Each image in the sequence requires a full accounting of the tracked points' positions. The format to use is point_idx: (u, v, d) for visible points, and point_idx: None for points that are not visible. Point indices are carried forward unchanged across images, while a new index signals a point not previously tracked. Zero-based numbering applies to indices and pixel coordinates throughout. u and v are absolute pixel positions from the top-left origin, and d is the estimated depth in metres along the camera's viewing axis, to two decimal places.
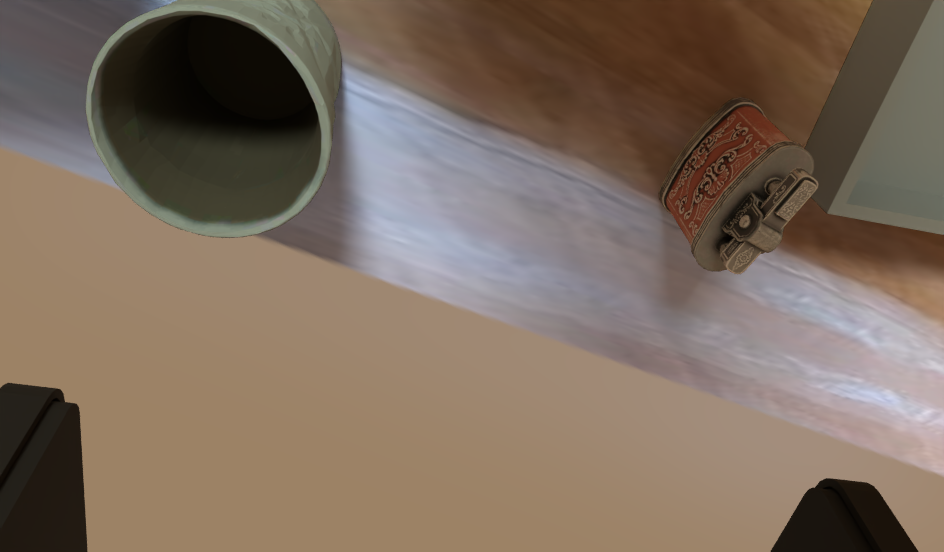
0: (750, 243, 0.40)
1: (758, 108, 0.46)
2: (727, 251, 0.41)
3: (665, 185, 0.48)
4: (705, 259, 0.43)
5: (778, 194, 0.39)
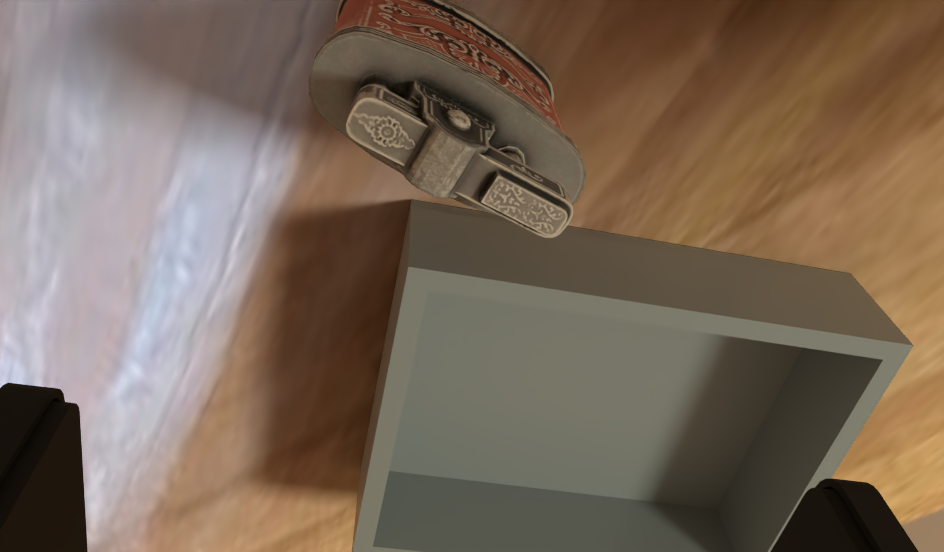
0: (425, 138, 0.19)
1: None
2: (389, 96, 0.19)
3: None
4: (337, 59, 0.20)
5: (525, 171, 0.20)
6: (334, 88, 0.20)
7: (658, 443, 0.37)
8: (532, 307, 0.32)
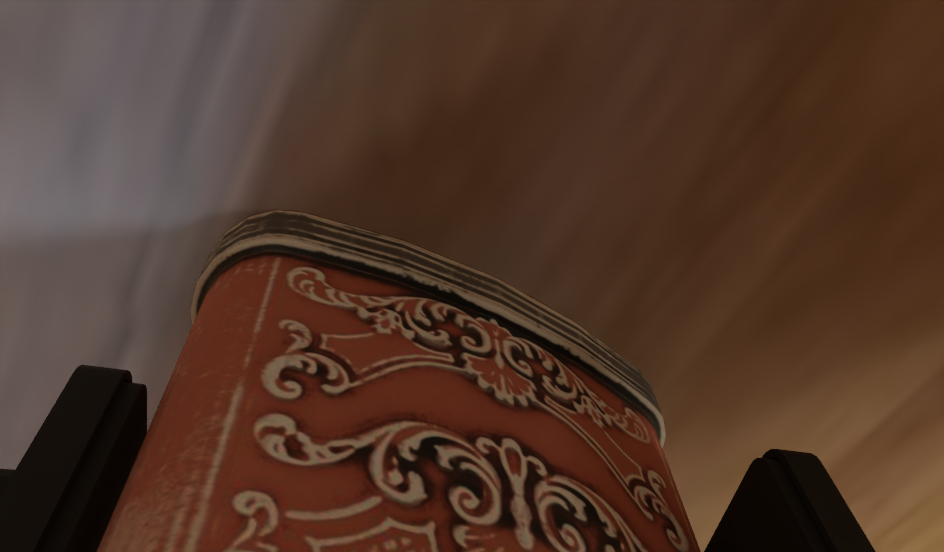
0: None
1: None
2: None
3: (324, 235, 0.11)
4: None
5: None
6: None
7: None
8: None
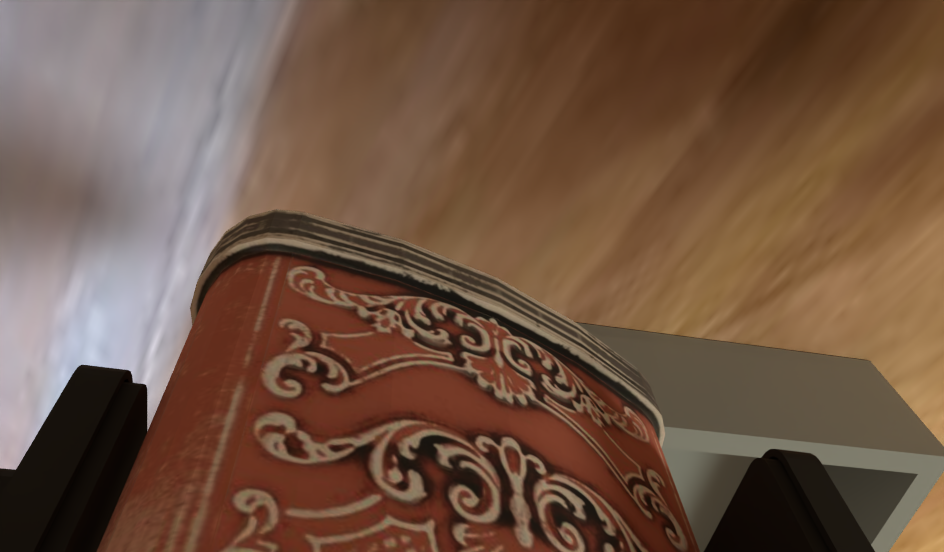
0: None
1: None
2: None
3: (324, 234, 0.11)
4: None
5: None
6: None
7: None
8: None
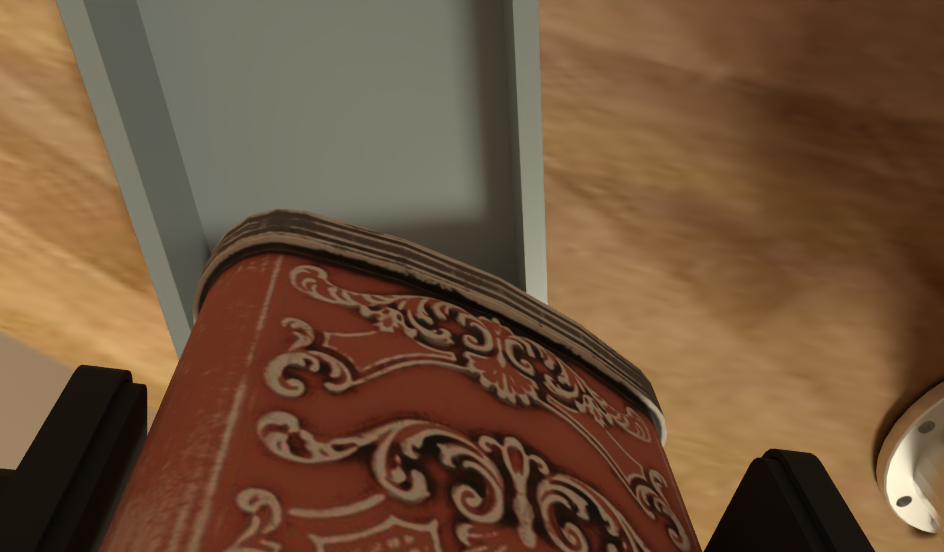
0: None
1: None
2: None
3: (326, 233, 0.11)
4: None
5: None
6: None
7: None
8: (424, 13, 0.29)
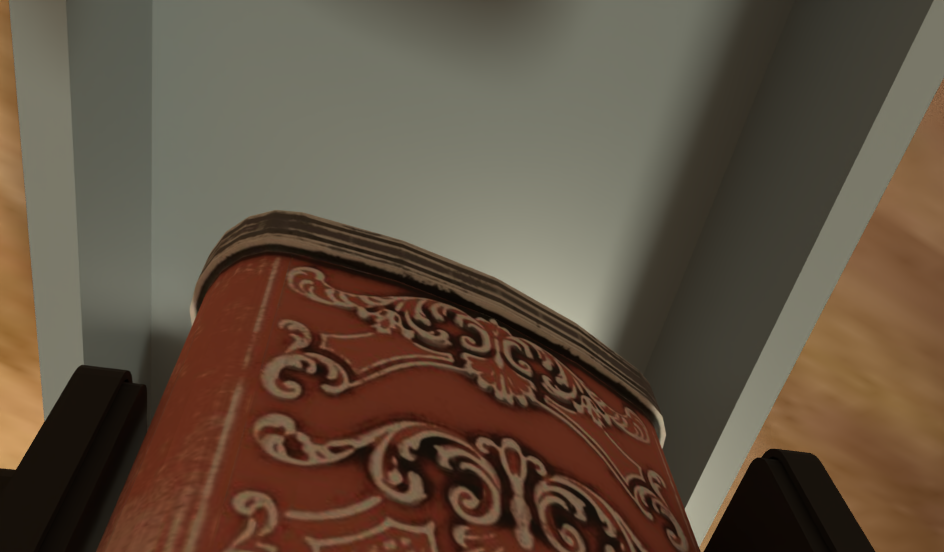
0: None
1: None
2: None
3: (324, 235, 0.11)
4: None
5: None
6: None
7: None
8: (634, 76, 0.17)
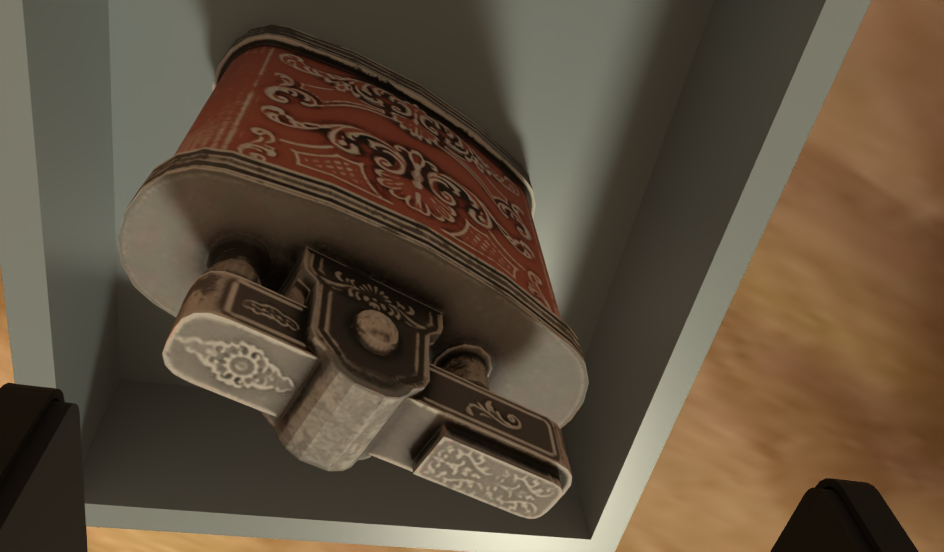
0: (312, 378, 0.10)
1: None
2: (249, 297, 0.10)
3: (304, 39, 0.17)
4: (166, 210, 0.11)
5: (492, 413, 0.12)
6: (165, 255, 0.12)
7: None
8: (584, 16, 0.18)
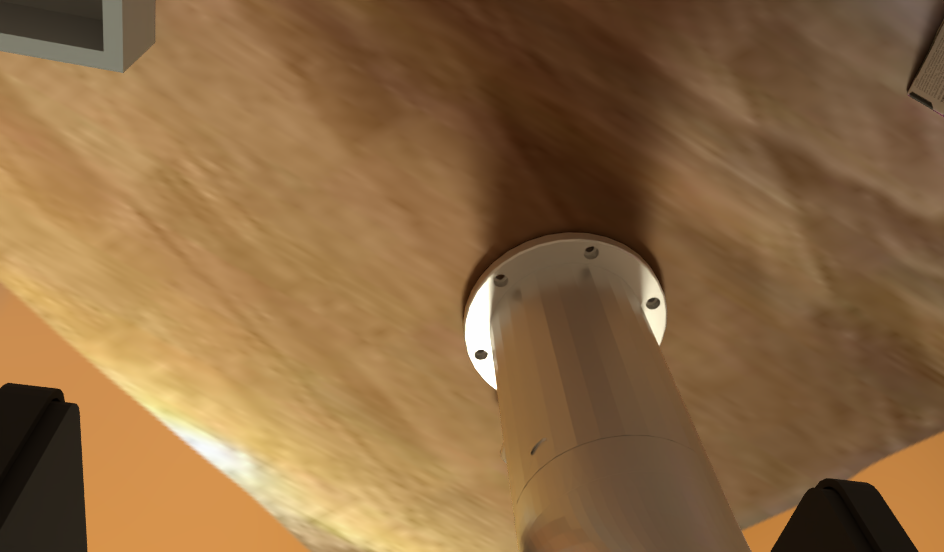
0: None
1: None
2: None
3: None
4: None
5: None
6: None
7: None
8: None
